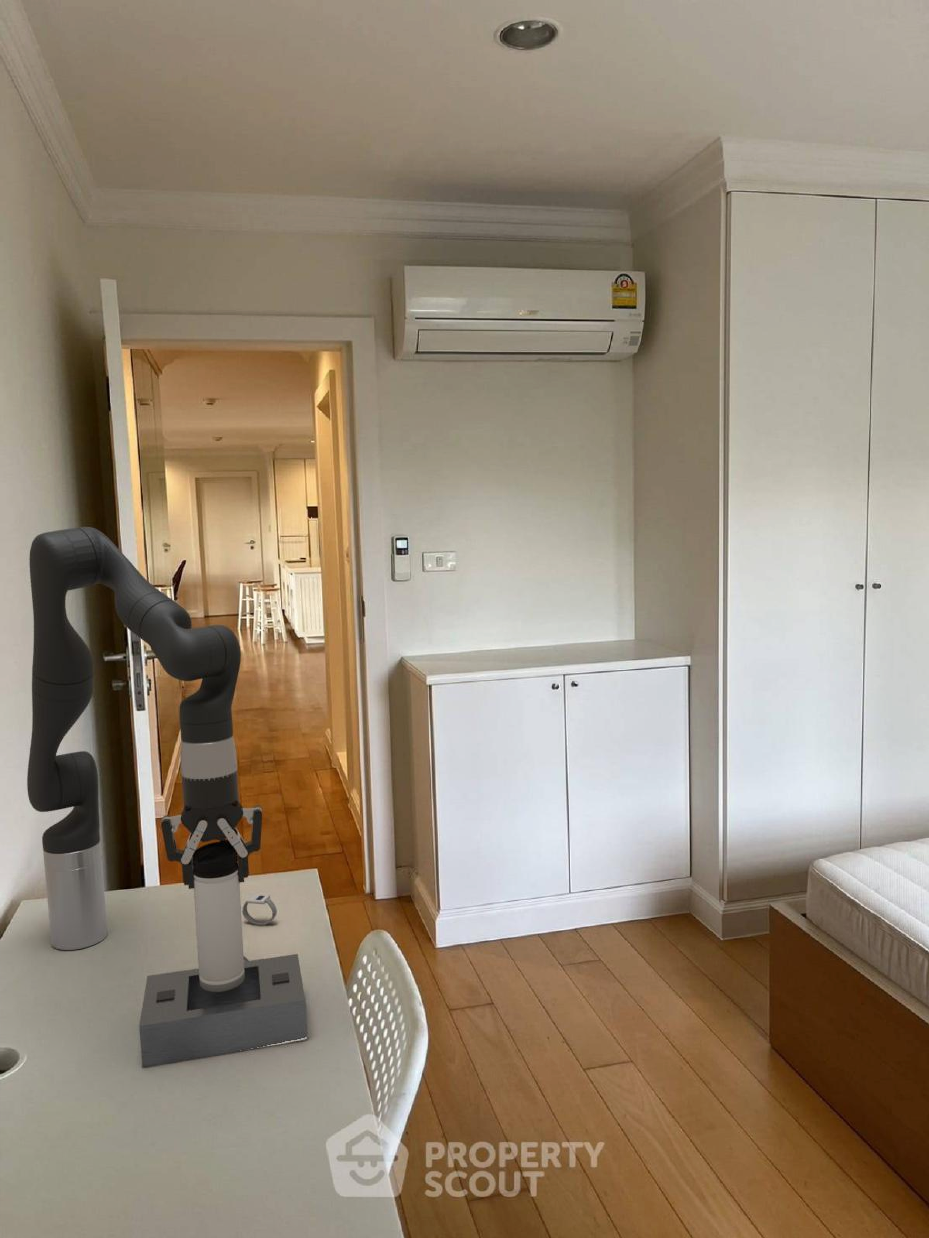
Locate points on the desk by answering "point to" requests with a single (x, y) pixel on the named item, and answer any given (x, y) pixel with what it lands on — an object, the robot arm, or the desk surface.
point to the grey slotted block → (221, 1012)
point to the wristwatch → (259, 900)
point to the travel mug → (218, 916)
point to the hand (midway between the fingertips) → (216, 883)
